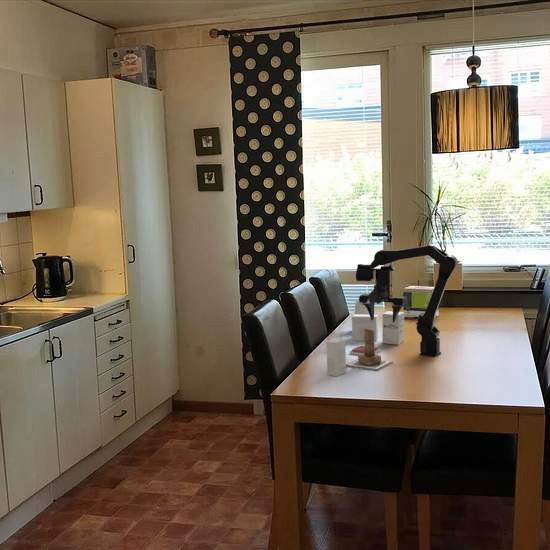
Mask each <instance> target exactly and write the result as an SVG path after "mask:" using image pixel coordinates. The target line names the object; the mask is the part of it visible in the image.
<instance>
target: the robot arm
mask: <svg viewBox="0 0 550 550" xmlns="http://www.w3.org/2000/svg"><path fill="white" fill-rule="evenodd" d="M425 256H426V257H427V256H429V257H430V258H431V259H432V260H434V262H435V263H437V264H438V265H439V267H438V276H437V280H436V283H435V284H434V285H435V286H433V287H434V290H433V293H432V296H431V298H430V301H429V304H428V307H427V309H426V311H425V313H421V314H420V315H419V318H417V321H416V322H415V326H416V331H417V333H418V334H419V335H420V336H421V340H420V343H419V348H420V349H419V355H420V356H427V357H428V356H429V357H437V356H439V355H441V354H442V351H440V350H441V347H440V346H441V345H440V344H441V343H440V341H441V339H440V338H439V336H440V334H441V331H440V330H439V329H438V328H437V327H436V326H435V324H436V318H437V317H436V312H437V309H438V306H439V305H440V303H441V300H442V298H443V295H444V292H445V290H446V287H447V284H448V282H449V279H450V278H451V276H452V275H453V273H454V271H455V270H456V268H457V266H458V264H459V261H458V258H457V257H456V256H455V255H453V254H448V253H447V252H445V251H444V250H442V249H440V248H439V247H438V246H436V245H434V244H431V243H429V244H427V245H423V246H415V247H409V248H404V249H389V248H388V249H387V248H386V249H381V250H379V251H376V252H375V254H374V257H373V260H372V262H371V263H370V264H362V263H358V264H357V268H356V270H355V271H356V272H355V280H356V282H366V283H367V282H368V283H369V282H372V281H373V280H375V284H374V285H373V289H372V291H371V292H370V293H364V294H360V295H359V296H358V301H359V302H360V303H362V305H364V306H365V307H366V308H367V310H368V312H369V315H370V318H371V320H374V315H375V304H382V303H391V304H393V305H391V307H392V308H391V309H392V311H393V323H394V322H395V321H396V318H397V316H398V313H399V312H401V309H402V308H403V306H405V305H406V304H408V299H407V297H403V295H402V296H401V295H400V296H399V295H398V296H395V297H393V295H392V294H391V288H392V284H393V283H391V272H394V271H396V270H397V269H396V267H394V265H393V264H391V263H393V262H397V261H399V260H406V259H412V258H418V257H425ZM387 264H389V265H387ZM379 266H380V268H378V267H379Z"/></svg>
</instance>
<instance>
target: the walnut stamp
mask: <svg viewBox="0 0 550 550" xmlns="http://www.w3.org/2000/svg"><path fill="white" fill-rule="evenodd" d="M364 340H365V341H364V346H365V354H361V355H357V359H358V362H359V363H361V364H364V365H366V366H371V365H377V364H380V363H381V360H382V356H381V355H379V354H375V341H374V329H365V330H364Z"/></svg>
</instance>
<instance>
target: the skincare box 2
mask: <svg viewBox="0 0 550 550" xmlns="http://www.w3.org/2000/svg"><path fill="white" fill-rule="evenodd" d="M365 329H374V342H377V341H378V339H379V315H378V314H374V320H371V318H370V315H362V314H355V313H354V314H353V315H352V316H351V335H352V336H351V341H352V342H353V341H355V342H356V341H358V342H359V341H361V342H365V340H364V330H365Z"/></svg>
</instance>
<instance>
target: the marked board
mask: <svg viewBox="0 0 550 550" xmlns="http://www.w3.org/2000/svg"><path fill="white" fill-rule="evenodd" d="M393 363H394V361H393V360H392V361H391V360H384V359H381V363H380V364H377V365H371V366H366V365H364V364H361V363H359V362H358V358H357V359H355V360H353V361H351V362H349V363H346V368H354V369H361V370H367V371H373V372H374V371H376V372H378V371H381V370H382V369H384V368H386V367H388V366H389V365H390V366H391V365H392V364H393Z"/></svg>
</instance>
